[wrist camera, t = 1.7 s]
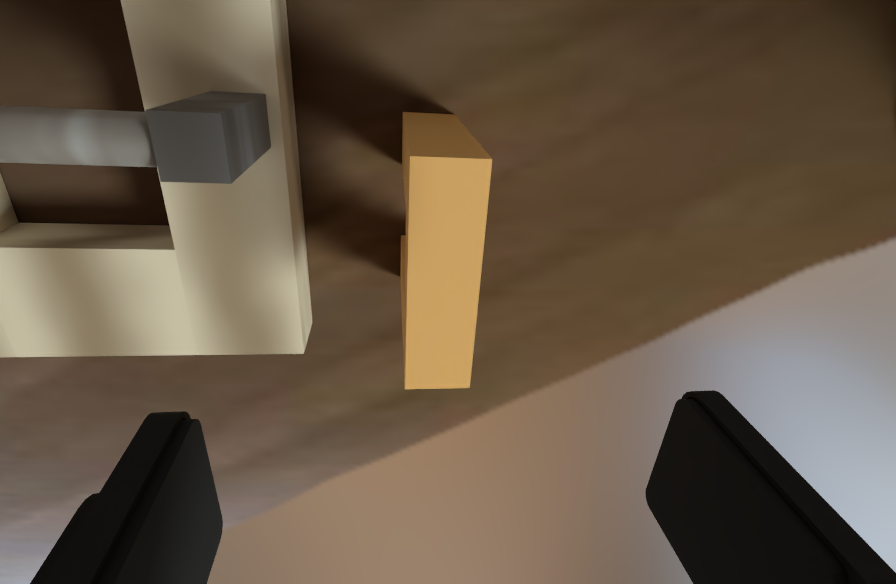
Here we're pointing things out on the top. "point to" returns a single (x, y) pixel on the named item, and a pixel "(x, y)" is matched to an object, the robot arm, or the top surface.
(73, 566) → the robot arm
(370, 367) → the top surface
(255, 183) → the square frame with handle
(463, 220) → the tan wooden block
